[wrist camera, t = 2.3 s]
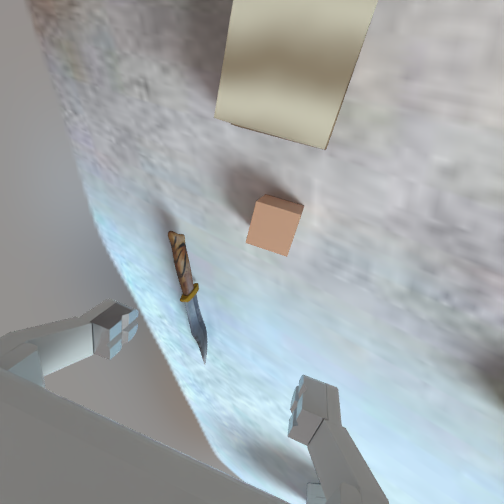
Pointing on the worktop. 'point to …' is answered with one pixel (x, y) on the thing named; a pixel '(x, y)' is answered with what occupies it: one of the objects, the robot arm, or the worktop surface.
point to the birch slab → (290, 65)
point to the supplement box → (315, 494)
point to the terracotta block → (274, 224)
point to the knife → (188, 291)
